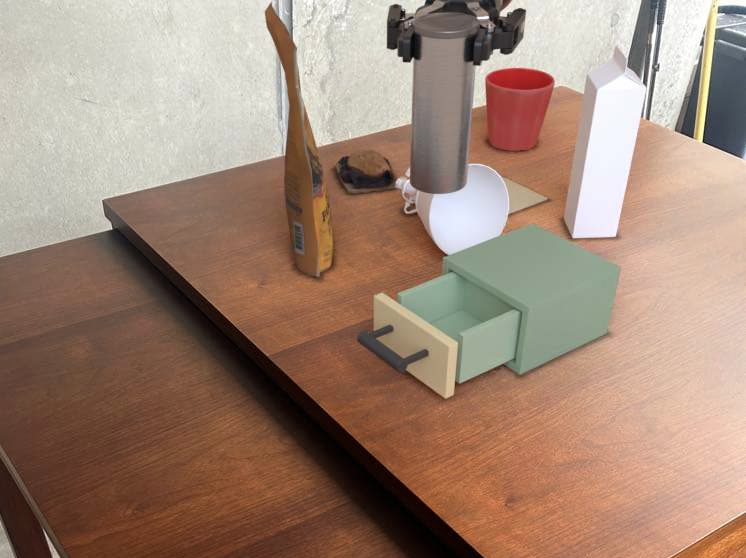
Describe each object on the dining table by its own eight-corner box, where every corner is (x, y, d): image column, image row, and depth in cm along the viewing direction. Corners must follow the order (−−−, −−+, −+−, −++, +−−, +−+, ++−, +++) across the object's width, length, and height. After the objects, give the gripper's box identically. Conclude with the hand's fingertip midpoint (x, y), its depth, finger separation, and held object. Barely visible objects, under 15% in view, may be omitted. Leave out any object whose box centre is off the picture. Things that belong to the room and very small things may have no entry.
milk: (571, 239, 117) (601, 61, 101) (563, 219, 121) (590, 45, 106) (617, 237, 117) (653, 58, 101) (606, 217, 121) (639, 42, 105)
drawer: (413, 414, 89) (415, 361, 84) (342, 359, 96) (341, 308, 92) (532, 357, 96) (540, 306, 91) (458, 310, 103) (462, 260, 98)
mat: (500, 177, 132) (500, 175, 131) (547, 199, 126) (547, 197, 125) (450, 195, 128) (450, 193, 127) (496, 219, 122) (496, 216, 122)
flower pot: (537, 128, 145) (545, 64, 138) (552, 153, 137) (562, 88, 130) (474, 131, 145) (479, 68, 138) (486, 157, 137) (492, 91, 130)
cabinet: (519, 375, 95) (529, 307, 89) (438, 322, 103) (442, 257, 97) (607, 333, 100) (621, 267, 94) (523, 286, 108) (532, 222, 102)
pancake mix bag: (284, 286, 110) (264, 41, 90) (281, 219, 123) (263, -7, 104) (337, 283, 110) (328, 38, 90) (328, 216, 124) (319, -9, 104)
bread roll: (332, 167, 136) (331, 143, 134) (384, 161, 137) (384, 137, 134) (345, 195, 129) (344, 170, 126) (400, 189, 130) (400, 164, 127)
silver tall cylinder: (447, 165, 94) (457, 8, 83) (479, 186, 90) (493, 24, 79) (398, 177, 92) (401, 18, 81) (427, 199, 88) (435, 35, 78)
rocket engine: (402, 129, 120) (463, 144, 106) (459, 175, 127) (525, 195, 112) (358, 205, 123) (412, 229, 109) (416, 246, 130) (475, 274, 115)
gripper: (399, -41, 90) (365, 3, 79) (539, -38, 87) (525, 9, 76) (397, 39, 95) (366, 92, 84) (529, 44, 93) (515, 99, 81)
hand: (441, 52), depth 80 cm, fingers closed on silver tall cylinder, 6 cm apart
